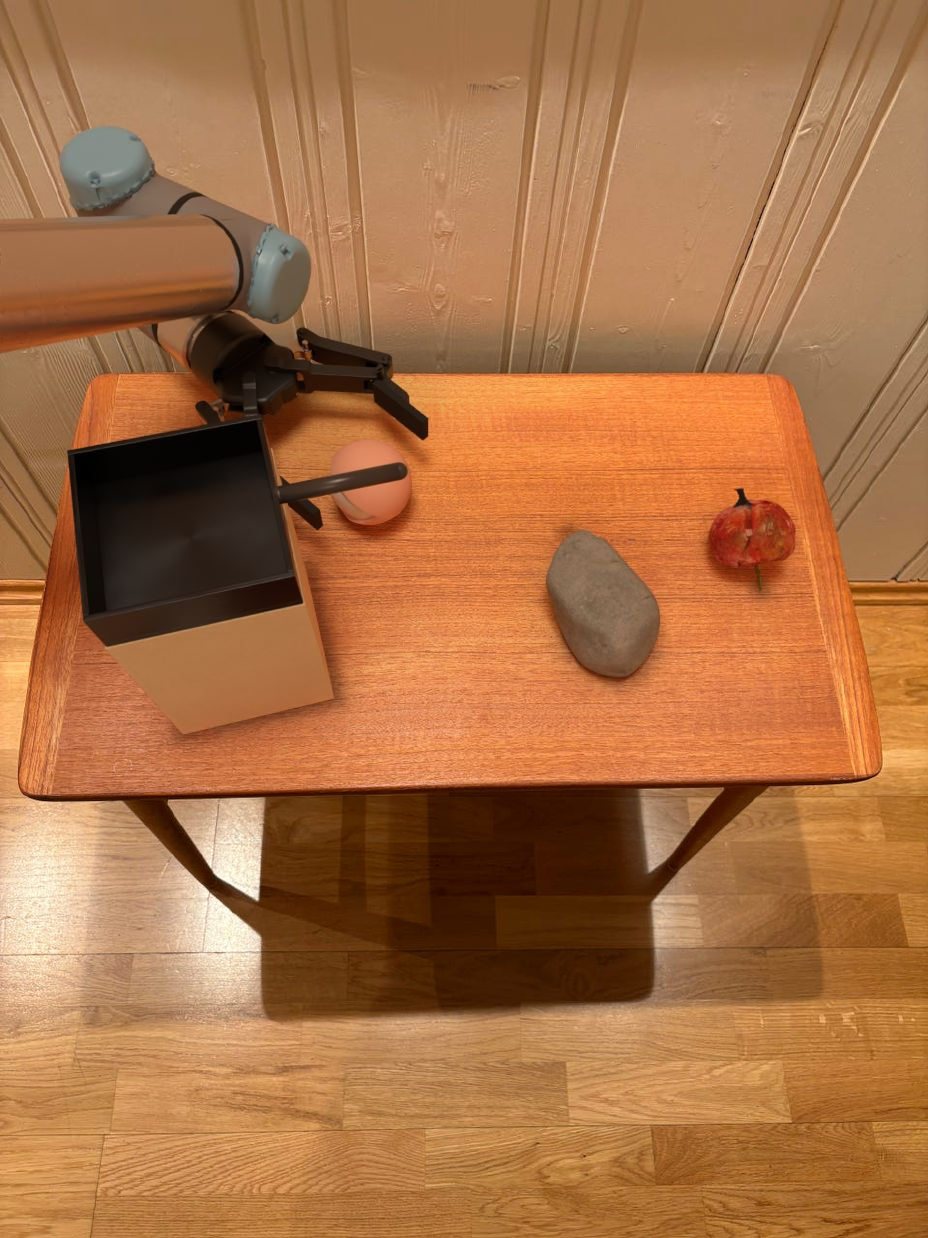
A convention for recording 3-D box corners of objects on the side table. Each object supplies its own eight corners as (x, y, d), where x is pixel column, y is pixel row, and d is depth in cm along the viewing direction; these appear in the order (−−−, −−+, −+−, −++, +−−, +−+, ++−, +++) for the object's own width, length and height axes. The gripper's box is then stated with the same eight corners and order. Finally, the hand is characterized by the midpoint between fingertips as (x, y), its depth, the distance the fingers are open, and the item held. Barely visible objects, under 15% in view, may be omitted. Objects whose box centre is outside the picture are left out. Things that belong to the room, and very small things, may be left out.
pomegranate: (781, 575, 82) (769, 474, 80) (816, 590, 75) (805, 480, 73) (707, 591, 82) (693, 491, 80) (736, 608, 75) (722, 498, 73)
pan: (106, 647, 54) (82, 621, 50) (89, 484, 59) (66, 449, 55) (430, 575, 57) (431, 545, 53) (388, 426, 62) (385, 389, 58)
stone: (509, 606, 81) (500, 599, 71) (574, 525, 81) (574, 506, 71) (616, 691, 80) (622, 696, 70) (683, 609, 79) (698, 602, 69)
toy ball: (323, 480, 82) (313, 430, 75) (399, 462, 84) (397, 411, 76) (343, 549, 79) (335, 504, 72) (422, 529, 80) (422, 483, 73)
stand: (183, 735, 71) (104, 649, 54) (164, 600, 76) (87, 483, 59) (334, 698, 73) (305, 604, 56) (306, 570, 78) (272, 447, 61)
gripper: (317, 305, 89) (465, 419, 83) (126, 444, 81) (276, 581, 75) (308, 247, 82) (468, 367, 77) (98, 393, 74) (261, 539, 68)
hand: (374, 473), depth 76 cm, fingers open, 13 cm apart
